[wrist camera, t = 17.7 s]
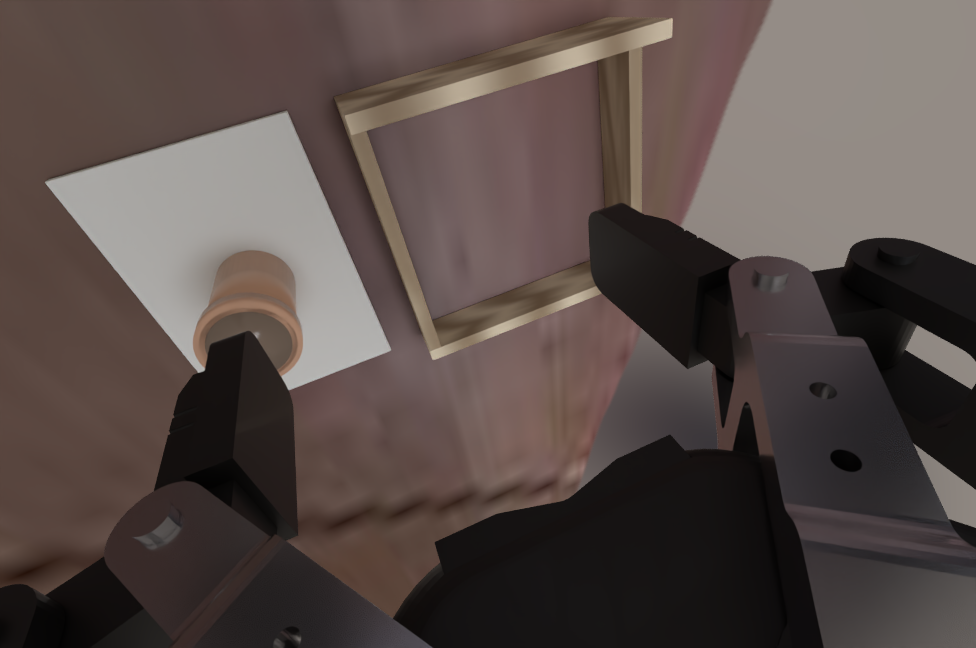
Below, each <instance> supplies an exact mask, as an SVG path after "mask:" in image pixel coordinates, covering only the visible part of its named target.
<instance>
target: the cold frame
mask: <svg viewBox="0 0 976 648" xmlns="http://www.w3.org/2000/svg"><path fill="white" fill-rule="evenodd" d="M672 22H673V18H636V17H607V18H603V19H600V20H596V21H593V22H590V23H586V24H583V25H579V26H576V27H572V28H569V29H565V30H562V31H559V32H555V33H552V34H548V35H545V36H541V37H538V38H534V39H531V40H527V41H524V42H521V43H517V44H514V45H510V46H507V47H503V48H500V49H496V50H493V51H490V52H486V53H483V54H479V55H476V56H472V57H469V58H465V59H462V60H458V61H455V62H452V63H448V64H445V65H441V66H438V67H434V68H431V69H427V70H424V71H421V72H417V73H414V74H410V75H407V76H403V77H400V78H396V79H393V80H390V81H386V82H383V83H379V84H376V85H372V86H369V87H365V88H362V89H358V90H355V91H352V92H348V93H345V94H341V95H338V96H334V100H335V102H336V105H337V108H338V110H339V113H340V116H341V118H342V121H343V124H344V126H345V129H346V132H347V134H348V137H349V140H350V143H351V145H352V148H353V151H354V153H355V156H356V159H357V161H358V164H359V167H360V169H361V172H362V175H363V177H364V180H365V183H366V185H367V188H368V191H369V193H370V196H371V199H372V202H373V204H374V207H375V210H376V212H377V215H378V218H379V220H380V223H381V226H382V228H383V231H384V234H385V236H386V239H387V242H388V244H389V247H390V250H391V252H392V255H393V258H394V261H395V263H396V266H397V269H398V271H399V274H400V277H401V279H402V282H403V285H404V287H405V290H406V293H407V295H408V298H409V301H410V303H411V306H412V309H413V311H414V314H415V317H416V320H417V322H418V325H419V328H420V330H421V333H422V335H423V338H424V340H425V343H426V345H427V347H428V350H429V352H430V354H431V357H432V359H433V360H435V359H438V358H440V357H443V356H445V355H448V354H450V353H453V352H456V351H458V350H461V349H463V348H466V347H468V346H471V345H473V344H476V343H478V342H481V341H483V340H486V339H488V338H491V337H493V336H496V335H498V334H501V333H503V332H506V331H508V330H511V329H514V328H516V327H519V326H521V325H524V324H526V323H529V322H531V321H534V320H536V319H539V318H541V317H544V316H546V315H549V314H551V313H554V312H556V311H559V310H561V309H564V308H566V307H569V306H571V305H574V304H577V303H579V302H582V301H584V300H587V299H589V298H592V297H594V296H597V295H599V294H602V293H601V292H600V291H599V289H598V288H597V286H596V285H595V283H594V280H593V278H592V274H591V267H590V261H587V262H585V263H582V264H579V265H577V266H574V267H571V268H569V269H566V270H564V271H561V272H558V273H556V274H553V275H550V276H548V277H545V278H543V279H540V280H537V281H535V282H532V283H530V284H527V285H524V286H522V287H519V288H516V289H514V290H511V291H509V292H506V293H503V294H501V295H498V296H496V297H493V298H490V299H488V300H485V301H482V302H480V303H477V304H475V305H472V306H469V307H467V308H464V309H461V310H459V311H456V312H454V313H451V314H448V315H446V316H443V317H441V318H438V319H435V320H433V321H432V319H431V316H430V313H429V310H428V308H427V305H426V302H425V299H424V296H423V293H422V290H421V287H420V285H419V282H418V279H417V276H416V273H415V270H414V267H413V264H412V261H411V259H410V256H409V253H408V250H407V247H406V244H405V241H404V238H403V236H402V233H401V230H400V227H399V224H398V221H397V218H396V215H395V213H394V210H393V207H392V204H391V201H390V198H389V195H388V192H387V190H386V187H385V184H384V181H383V178H382V175H381V172H380V169H379V167H378V164H377V161H376V158H375V155H374V152H373V149H372V146H371V144H370V141H369V138H368V135H367V132H366V131H367V130H371V129H374V128H377V127H380V126H384V125H387V124H390V123H394V122H397V121H400V120H403V119H407V118H410V117H413V116H416V115H420V114H423V113H426V112H430V111H433V110H436V109H439V108H443V107H446V106H449V105H452V104H456V103H459V102H462V101H466V100H469V99H472V98H475V97H479V96H482V95H485V94H488V93H492V92H495V91H498V90H502V89H505V88H508V87H511V86H515V85H518V84H521V83H524V82H528V81H531V80H534V79H538V78H541V77H544V76H547V75H551V74H554V73H557V72H560V71H564V70H567V69H570V68H574V67H577V66H580V65H583V64H587V63H590V62H593V61H596V60H598V74H599V94H600V114H601V135H602V155H603V175H604V195H605V208H606V207H609V206H612V205H615V204H618V203H624V204H626V205H628V206H630V207H632V208H633V209H635V210H637V211H639V212H640V213H642V46H646V45H649V44H652V43H655V42H659V41H662V40H665V39H669V38H672Z"/></svg>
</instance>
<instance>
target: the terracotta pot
mask: <svg viewBox="0 0 976 648" xmlns="http://www.w3.org/2000/svg"><path fill="white" fill-rule="evenodd" d="M245 331H251V332H252V333H253V334H254V335H255V336H256V338H257V339H258V341H259V342H260V344H261V346H262V347H263V349H264V350H265V352H266V354H267V355H268V357H269V358H270V360H271V361H272V363H273V365H274V366H275V368H276V369H277V371H278V373H279V374H280V376H283V375H284V374H286V373H287V372H288V371H290V370H291V369H292V368H293V367H294V366H295V364H296V363H297V362H298V360H299V358H300V356H301V353H302V349H303V333H302V326H301V323H300V320H299V318H298V316H297V310H296V284H295V277H294V275H293V272H292V270H291V269H290V267H289V266H288V265H287V264H286V263H285V262H284V261H283V260H281V259H280V258H278V257H277V256H275V255H273V254H270V253H267V252H263V251H256V250H250V251H243V252H239V253H236V254H234V255H232V256H230V257H228V258H227V259H226V260H225V261H223V263H222V264H221V265H220V267H219V268H218V270H217V273H216V277H215V281H214V284H213V288H212V292H211V296H210V300H209V303H208V307H207V308H206V309H205V310H204V311H203V312H202V314H201V316H200V317H199V320H198V322H197V325H196V329H195V332H194V336H193V350H194V353H195V356H196V358H197V360H198V361H199V363H200V364H201V365H202V366H203V367H204V368H205V366H206V361H207V356H208V351H209V347H210V344H211V343H213V342H216V341H219V340H222V339H225V338H228V337H231V336H233V335H236V334H239V333H242V332H245Z"/></svg>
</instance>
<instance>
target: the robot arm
mask: <svg viewBox="0 0 976 648" xmlns="http://www.w3.org/2000/svg"><path fill="white" fill-rule="evenodd" d="M588 225H589V246H590V267H591V274H592V278H593V280H594V283H595V285H596V286H597V288H598V289H599V291H600V292H601V293H602V294H603V295H605V296H606V297H607V298H608V299H609V300H610V301H611V302H612V303H614V304H615V305H616V306H617V307H618V308H619V309H620V310H621V311H623V312H624V313H625V314H626V315H627V316H628V317H629V318H631V319H632V320H633V321H634V322H635V323H636V324H637V325H638V326H640V327H641V328H642V329H643V330H644V331H645V332H646V333H647V334H649V335H650V336H651V337H652V338H653V339H654V340H655V341H657V342H658V343H659V344H660V345H661V346H662V347H663V348H665V349H666V350H667V351H668V352H669V353H670V354H671V355H672V356H673V357H675V358H676V359H677V360H678V361H679V362H680V363H681V364H682V365H684V366H685V367H686V368H687V369H689V368H691V367H693V366H696V365H698V364H700V363H703V362H705V361H707V360H709V361H710V362H711V363H712V364H713V370H712V385H713V395H714V406H715V416H716V427H717V437H718V449H694V450H686V451H685V450H684V449H683V448H682V447H681V446H680V445H679V444H678V443H677V442H676V441H675V439H674V438H673V437H672V436H671V435H668V436H666V437H664V438H661V439H659V440H657V441H655V442H653V443H651V444H648V445H646V446H644V447H642V448H640V449H637V450H635V451H633V452H631V453H629V454H627V455H624V456H622V457H620V458H618V459H616V460H615V461H614V462H612V463H611V464H610V465H609V466H608V467H607V468H605V469H604V470H603V471H602V472H600V473H599V474H598V475H597V476H596V477H594V478H593V479H592V480H591V481H590V482H588V483H587V484H586V485H585V486H584V487H582V488H581V489H580V490H579V491H578V492H576V493H575V494H574V495H573V496H571V497H570V498H568V499H566V500H564V501H561V502H556V503H551V504H545V505H540V506H535V507H530V508H525V509H519V510H514V511H509V512H504V513H498V514H495V515H493V516H491V517H489V518H487V519H484V520H482V521H480V522H478V523H476V524H474V525H471V526H469V527H467V528H465V529H463V530H460V531H458V532H456V533H454V534H452V535H449V536H447V537H445V538H443V539H441V540H439V541H436V542H435V545H436V549H437V552H438V556H439V559H440V563H439V564H438V565H437V566H436V567H435V568H433V569H432V570H431V571H430V572H429V573H428V574H427V575H426V576H425V577H424V578H423V579H422V580H421V581H420V582H419V583H418V584H417V585H416V586H415V588H414V589H413V590H412V591H411V593H410V594H409V595H408V596H407V598H406V599H405V600H404V602H403V603H402V605H401V606H400V608H399V610H398V611H397V613H396V614H395V616H394V618H391V617H390V616H389V615H387V614H386V613H384V612H383V611H382V610H380V609H379V608H378V607H376V606H375V605H373V604H372V603H371V602H369V601H368V600H367V599H365V598H364V597H362V596H361V595H360V594H358V593H357V592H356V591H354V590H353V589H351V588H350V587H349V586H347V585H346V584H345V583H343V582H342V581H340V580H339V579H338V578H336V577H335V576H334V575H332V574H331V573H329V572H328V571H327V570H325V569H324V568H323V567H321V566H320V565H318V564H317V563H316V562H314V561H313V560H312V559H310V558H309V557H307V556H306V555H305V554H303V553H302V552H301V551H299V550H298V549H296V548H295V547H294V546H292V545H291V544H290V543H288V542H287V541H286V540H288V539H291V538H293V537H295V536H298V520H297V494H296V467H295V441H294V415H293V404H292V399H291V396H290V393H289V391H288V388H287V386H286V384H285V382H284V381H283V379H282V377H281V376H280V374H279V373H278V371H277V369H276V368H275V366H274V365H273V363H272V361H271V360H270V358H269V357H268V355H267V354H266V352H265V350H264V349H263V347H262V346H261V344H260V342H259V341H258V339H257V338H256V336H255V335H254V334H253V333H252V332H251V331H245V332H242V333H239V334H236V335H233V336H231V337H228V338H225V339H222V340H219V341H216V342H213V343H211V344H210V347H209V351H208V356H207V361H206V366H205V371H203V372H200V373H197V374H194V375H193V376H192V377H191V379H190V380H189V381H188V383H187V384H186V385H185V387H184V388H183V390H182V391H181V392H180V394H179V395H178V399H177V402H176V406H175V410H174V414H173V415H174V417H175V418H173V419H172V422H171V426H170V430H169V431H170V435H168V438H167V442H166V445H165V449H164V453H163V457H162V461H161V465H160V469H159V473H158V477H157V481H156V484H155V488H154V491H153V492H152V493H150V494H149V495H147V496H146V497H144V498H143V499H141V500H140V501H139V502H137V503H136V504H135V505H134V506H133V507H132V508H131V509H130V510H128V511H127V513H126V514H125V515H124V516H123V517H122V518H121V519H120V520H119V522H118V523H117V524H116V526H115V527H114V529H113V530H112V532H111V534H110V536H109V538H108V540H107V543H106V546H105V550H104V557H103V558H101V559H100V560H98V561H97V562H95V563H94V564H92V565H91V566H89V567H88V568H86V569H85V570H83V571H82V572H80V573H78V574H77V575H75V576H74V577H72V578H71V579H69V580H68V581H66V582H65V583H63V584H62V585H60V586H59V587H57V588H56V589H54V590H53V591H51V592H50V593H48V594H46V595H44V594H42V593H40V592H38V591H36V590H35V589H33V588H31V587H29V586H27V585H23V584H15V585H10V586H5V587H2V588H0V648H976V528H974V527H971V526H968V525H965V524H962V523H959V522H956V521H953V520H950V519H948V517H947V515H946V512H945V510H944V508H943V506H942V504H941V502H940V500H939V498H938V496H937V493H936V491H935V489H934V487H933V485H932V483H931V480H930V478H929V476H928V474H927V472H926V470H925V468H924V465H923V463H922V461H921V459H920V457H919V455H918V453H917V450H916V448H915V446H914V444H915V445H916V446H918V447H919V448H920V449H922V450H923V451H924V452H926V453H927V454H928V455H930V456H931V457H933V458H934V459H935V460H937V461H938V462H939V463H941V464H942V465H943V466H945V467H946V468H947V469H949V470H950V471H951V472H953V473H954V474H955V475H957V476H958V477H959V478H961V479H962V480H964V481H965V482H966V483H968V484H969V485H970V486H972V487H973V488H974V489H976V384H975V386H974V387H973V389H972V390H971V389H970V388H968V387H966V386H965V385H963V384H961V383H960V382H958V381H956V380H955V379H953V378H951V377H949V376H948V375H946V374H944V373H943V372H941V371H939V370H938V369H936V368H934V367H932V366H931V365H929V364H928V363H926V362H924V361H923V360H921V359H919V358H918V357H916V356H914V355H913V354H911V353H909V352H908V351H906V350H905V349H906V346H907V345H908V342H909V341H910V339H911V336H912V334H913V332H914V330H915V328H916V326H917V325H918V326H920V327H922V328H924V329H925V330H927V331H929V332H931V333H933V334H935V335H937V336H938V337H940V338H942V339H944V340H946V341H948V342H950V343H951V344H953V345H955V346H957V347H959V348H961V349H962V350H964V351H966V352H967V353H968V354H970V355H971V356H972V357H973V359H974V360H975V361H976V265H974V264H972V263H969V262H966V261H964V260H962V259H959V258H957V257H954V256H952V255H949V254H947V253H944V252H942V251H939V250H937V249H935V248H932V247H930V246H927V245H924V244H921V243H918V242H914V241H910V240H905V239H897V238H874V239H867V240H863V241H860V242H858V243H856V244H854V245H853V246H852V247H851V249H850V251H849V254H848V257H847V260H846V263H845V266H844V267H840V268H833V269H826V270H820V271H813V272H811V271H810V270H809V269H808V268H806V267H805V266H803V265H801V264H799V263H798V262H795V261H792V260H789V259H786V258H780V257H773V256H757V257H750V258H746V259H743V260H740V259H738V258H736V257H734V256H732V255H730V254H729V253H727V252H725V251H723V250H722V249H720V248H718V247H716V246H714V245H712V244H710V243H709V242H707V241H705V240H703V239H702V238H697V236H696V235H694V234H692V233H690V232H689V231H687V230H686V231H684V229H683V228H681V227H680V226H678V225H676V224H674V223H672V222H671V221H669V220H666V219H662V218H657V217H653V216H649V215H644V214H642V213H640V212H639V211H637V210H635V209H633V208H632V207H630V206H628V205H626V204H624V203H618V204H615V205H612V206H609V207H606V208H603V209H601V210H598V211H595V212H592V213H591V214H590V216H589V222H588ZM913 443H914V444H913Z"/></svg>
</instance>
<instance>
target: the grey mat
mask: <svg viewBox="0 0 976 648" xmlns="http://www.w3.org/2000/svg"><path fill="white" fill-rule="evenodd" d="M45 183H46V185H47V186H48V187H49V188H50V189H51V191H52V192H53V193H54V194H55V196H56V197H57V198H58V199H59V201H60V202H61V203H62V204H63V206H64V207H65V208H66V209H67V211H68V212H69V213H70V214H71V215H72V217H73V218H74V219H75V220H76V222H77V223H78V224H79V225H80V227H81V228H82V229H83V230H84V232H85V233H86V234H87V235H88V237H89V238H90V239H91V240H92V241H93V243H94V244H95V245H96V246H97V248H98V249H99V250H100V251H101V253H102V254H103V255H104V256H105V258H106V259H107V260H108V261H109V263H110V264H111V265H112V266H113V268H114V269H115V270H116V271H117V272H118V274H119V275H120V276H121V277H122V279H123V280H124V281H125V282H126V284H127V285H128V286H129V287H130V289H131V290H132V291H133V292H134V294H135V295H136V296H137V297H138V298H139V300H140V301H141V302H142V303H143V305H144V306H145V307H146V308H147V310H148V311H149V312H150V313H151V315H152V316H153V317H154V318H155V320H156V321H157V322H158V323H159V324H160V326H161V327H162V328H163V329H164V331H165V332H166V333H167V334H168V336H169V337H170V338H171V339H172V341H173V342H174V343H175V344H176V346H177V347H178V348H179V349H180V351H181V352H182V353H183V354H184V355H185V357H186V358H187V359H188V360H189V362H190V363H191V364H192V365H193V367H194V368H195V369H196V370H197V372H198V373H200V372H203V371H205V368H204V367H203V366H202V365H201V364H200V363H199V361H198V360H197V358H196V356H195V353H194V350H193V336H194V332H195V329H196V325H197V322H198V320H199V317H200V316H201V314H202V312H203V311H204V310H205V309H206V308H207V307H208V303H209V300H210V296H211V292H212V288H213V284H214V281H215V277H216V273H217V270H218V268H219V267H220V265H221V264H222V263H223V261H225V260H226V259H227V258H228V257H230V256H232V255H234V254H236V253H239V252H243V251H250V250H256V251H263V252H267V253H270V254H273V255H275V256H277V257H278V258H280V259H281V260H283V261H284V262H285V263H286V264H287V265H288V266H289V267H290V269H291V270H292V272H293V275H294V277H295V284H296V310H297V316H298V318H299V320H300V323H301V326H302V333H303V349H302V353H301V356H300V358H299V360H298V362H297V363H296V364H295V366H294V367H293V368H292V369H291V370H290V371H288V372H287V373H286V374H284V375H283V376H281V377H282V379H283V381H284V382H285V384H286V386H287V388H288V390H291V389H293V388H296V387H298V386H301V385H304V384H306V383H309V382H311V381H314V380H316V379H319V378H322V377H324V376H327V375H329V374H332V373H335V372H337V371H340V370H342V369H345V368H347V367H350V366H353V365H355V364H358V363H360V362H363V361H366V360H368V359H371V358H373V357H376V356H378V355H381V354H384V353H386V352H389V351H391V348H390V345H389V343H388V340H387V338H386V336H385V334H384V331H383V329H382V327H381V324H380V322H379V320H378V318H377V315H376V313H375V311H374V308H373V306H372V304H371V302H370V299H369V297H368V295H367V292H366V290H365V288H364V285H363V283H362V281H361V279H360V276H359V274H358V272H357V269H356V267H355V265H354V263H353V260H352V258H351V256H350V253H349V251H348V249H347V246H346V244H345V242H344V240H343V237H342V235H341V233H340V230H339V228H338V226H337V224H336V221H335V219H334V217H333V214H332V212H331V210H330V208H329V205H328V203H327V201H326V198H325V196H324V194H323V191H322V189H321V187H320V185H319V182H318V180H317V178H316V175H315V173H314V171H313V169H312V166H311V164H310V162H309V159H308V157H307V155H306V153H305V150H304V148H303V146H302V143H301V141H300V139H299V136H298V134H297V132H296V130H295V127H294V125H293V123H292V120H291V118H290V116H289V114H288V111H287V110H286V111H283V112H279V113H276V114H272V115H269V116H265V117H262V118H258V119H255V120H252V121H248V122H245V123H241V124H238V125H234V126H231V127H227V128H224V129H220V130H217V131H214V132H210V133H207V134H203V135H200V136H196V137H193V138H189V139H186V140H183V141H179V142H176V143H172V144H169V145H165V146H162V147H158V148H155V149H152V150H148V151H145V152H141V153H138V154H134V155H131V156H127V157H124V158H120V159H117V160H114V161H110V162H107V163H103V164H100V165H96V166H93V167H89V168H86V169H83V170H79V171H76V172H72V173H69V174H65V175H62V176H58V177H55V178H51V179H48V180H47V181H46V182H45Z"/></svg>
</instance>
